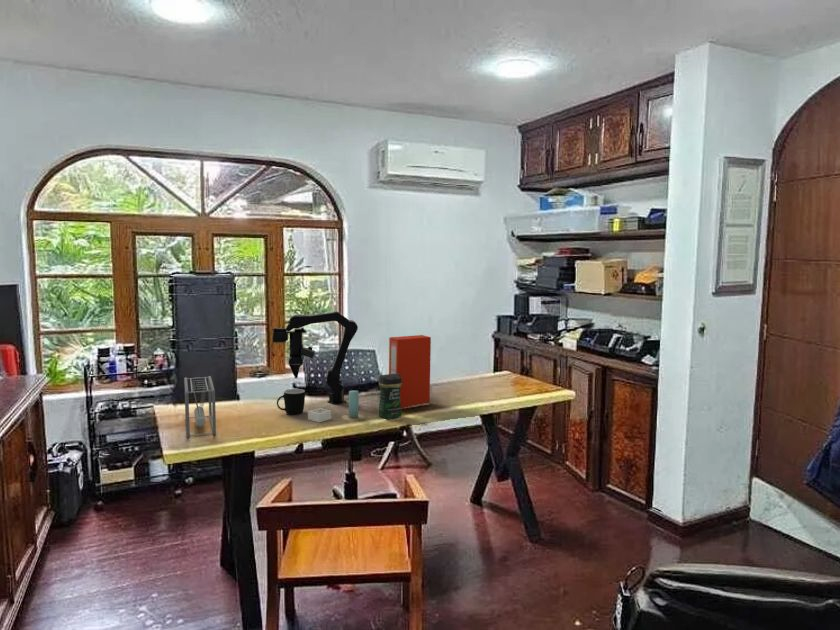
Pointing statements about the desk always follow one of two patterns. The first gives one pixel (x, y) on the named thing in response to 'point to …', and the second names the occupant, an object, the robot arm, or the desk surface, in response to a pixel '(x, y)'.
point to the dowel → (353, 404)
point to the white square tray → (319, 415)
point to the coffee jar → (390, 396)
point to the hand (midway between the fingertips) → (296, 376)
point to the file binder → (411, 367)
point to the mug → (293, 401)
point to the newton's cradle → (199, 410)
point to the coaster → (346, 417)
